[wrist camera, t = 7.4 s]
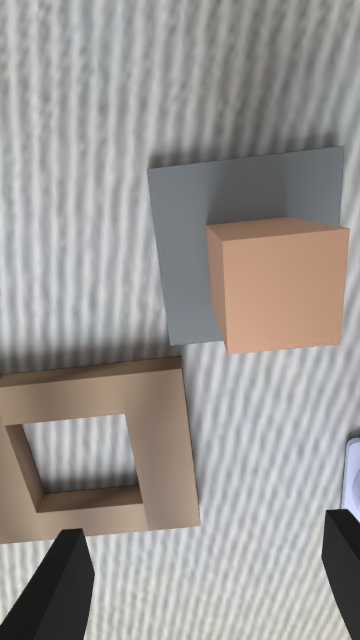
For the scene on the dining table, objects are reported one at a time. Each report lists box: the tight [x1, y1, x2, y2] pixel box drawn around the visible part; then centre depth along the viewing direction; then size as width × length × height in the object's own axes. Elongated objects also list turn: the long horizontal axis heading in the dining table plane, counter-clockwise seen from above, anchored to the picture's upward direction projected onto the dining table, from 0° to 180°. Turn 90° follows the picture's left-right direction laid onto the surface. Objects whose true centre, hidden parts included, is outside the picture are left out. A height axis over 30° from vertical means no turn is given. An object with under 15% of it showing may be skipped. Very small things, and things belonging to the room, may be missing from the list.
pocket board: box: [0, 356, 200, 544], centre depth 21 cm, size 14×12×2 cm
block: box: [206, 217, 350, 354], centre depth 14 cm, size 4×4×6 cm
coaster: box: [147, 146, 344, 346], centre depth 17 cm, size 9×9×1 cm
